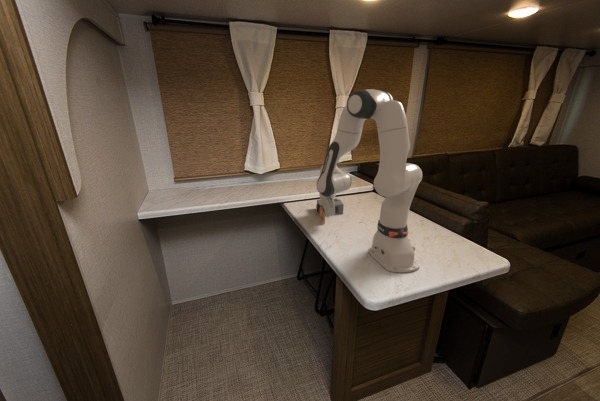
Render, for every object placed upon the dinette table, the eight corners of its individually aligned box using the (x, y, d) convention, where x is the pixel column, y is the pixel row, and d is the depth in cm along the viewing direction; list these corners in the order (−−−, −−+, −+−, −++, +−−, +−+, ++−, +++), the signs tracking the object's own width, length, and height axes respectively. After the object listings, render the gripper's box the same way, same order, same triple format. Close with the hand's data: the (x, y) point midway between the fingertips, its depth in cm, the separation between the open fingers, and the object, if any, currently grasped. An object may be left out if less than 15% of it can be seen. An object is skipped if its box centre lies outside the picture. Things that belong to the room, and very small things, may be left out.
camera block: (343, 213, 153) (343, 203, 150) (317, 215, 151) (318, 204, 148) (338, 207, 162) (339, 197, 159) (314, 208, 160) (315, 198, 158)
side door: (322, 224, 139) (322, 215, 137) (318, 215, 151) (318, 206, 149) (324, 224, 139) (325, 215, 137) (320, 214, 151) (321, 206, 149)
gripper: (338, 199, 128) (337, 224, 133) (328, 186, 147) (328, 209, 152) (326, 199, 128) (325, 224, 133) (318, 187, 147) (317, 209, 152)
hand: (326, 216), depth 143 cm, fingers closed
